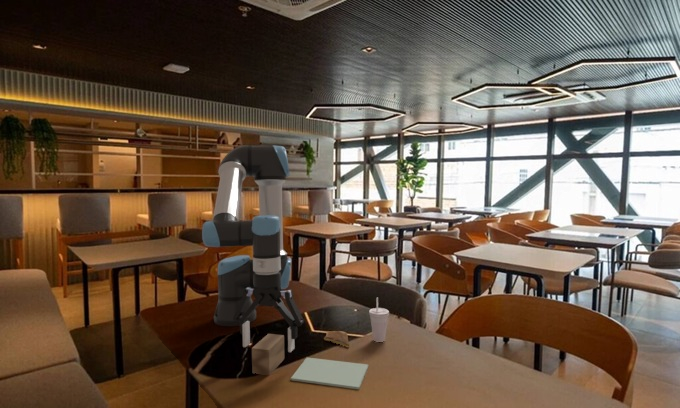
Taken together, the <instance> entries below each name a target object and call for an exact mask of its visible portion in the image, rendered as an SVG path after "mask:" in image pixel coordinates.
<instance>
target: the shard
mask: <svg viewBox="0 0 680 408" xmlns="http://www.w3.org/2000/svg"><path fill="white" fill-rule="evenodd" d="M323 339H324V341H326V342H330V341H331V343H333V344H335V343H336V345H338V344H340V345H339V346H341V345H344V346H349V347H350V344H349V343H350V342H349V337H348V334H347V332H346V331H341V330H333V331H332V330H331V331H329V330H327V331H326V335H325V336H323ZM344 346H343V347H344Z"/></svg>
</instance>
